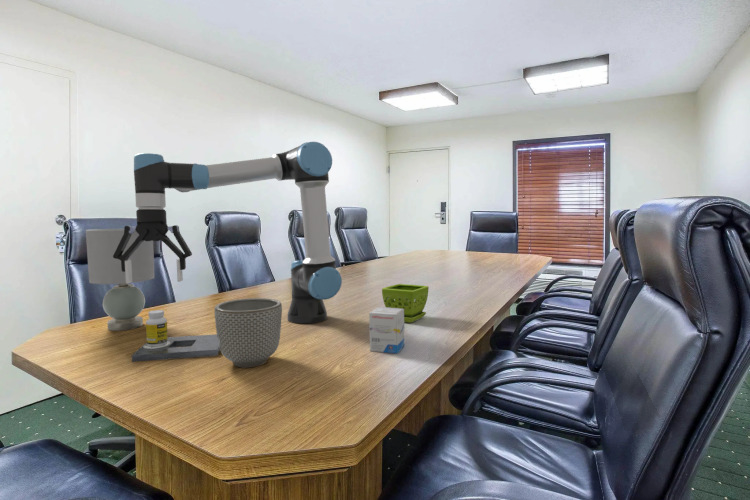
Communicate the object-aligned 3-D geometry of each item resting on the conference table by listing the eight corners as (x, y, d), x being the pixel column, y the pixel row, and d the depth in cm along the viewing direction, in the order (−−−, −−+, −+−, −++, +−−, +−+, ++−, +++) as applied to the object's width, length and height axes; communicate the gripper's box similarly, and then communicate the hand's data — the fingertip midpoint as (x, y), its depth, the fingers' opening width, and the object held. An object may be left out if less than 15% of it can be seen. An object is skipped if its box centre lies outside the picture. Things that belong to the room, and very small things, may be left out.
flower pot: (429, 317, 157) (429, 285, 156) (413, 325, 145) (413, 291, 144) (398, 313, 164) (398, 282, 163) (380, 320, 153) (380, 287, 152)
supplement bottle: (158, 347, 115) (157, 314, 114) (142, 346, 116) (140, 313, 115) (171, 341, 120) (170, 309, 120) (156, 340, 121) (154, 309, 121)
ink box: (405, 345, 123) (405, 307, 122) (397, 354, 115) (397, 314, 114) (378, 342, 126) (378, 305, 125) (369, 351, 118) (368, 311, 117)
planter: (246, 379, 97) (244, 314, 96) (202, 365, 106) (200, 306, 105) (296, 358, 112) (295, 301, 111) (253, 348, 121) (252, 295, 120)
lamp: (78, 331, 140) (72, 229, 137) (132, 317, 158) (127, 228, 156) (117, 337, 132) (111, 230, 130) (169, 322, 151) (165, 228, 148)
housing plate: (225, 339, 130) (225, 332, 130) (217, 355, 114) (216, 348, 114) (151, 343, 125) (151, 337, 125) (131, 361, 110) (131, 354, 110)
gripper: (200, 209, 121) (203, 278, 123) (108, 209, 116) (112, 281, 118) (194, 208, 114) (197, 282, 116) (96, 208, 109) (101, 285, 111)
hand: (155, 282), depth 117 cm, fingers open, 13 cm apart
